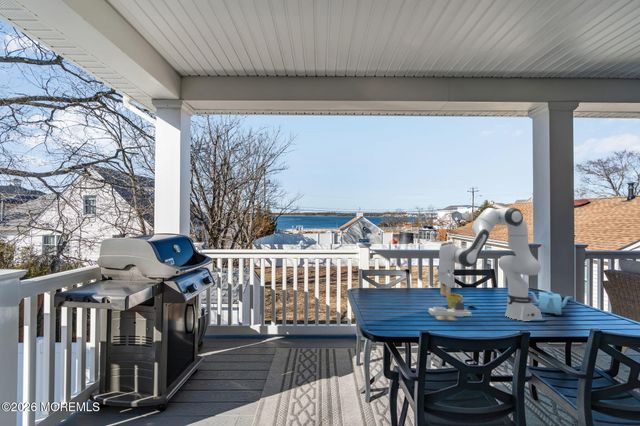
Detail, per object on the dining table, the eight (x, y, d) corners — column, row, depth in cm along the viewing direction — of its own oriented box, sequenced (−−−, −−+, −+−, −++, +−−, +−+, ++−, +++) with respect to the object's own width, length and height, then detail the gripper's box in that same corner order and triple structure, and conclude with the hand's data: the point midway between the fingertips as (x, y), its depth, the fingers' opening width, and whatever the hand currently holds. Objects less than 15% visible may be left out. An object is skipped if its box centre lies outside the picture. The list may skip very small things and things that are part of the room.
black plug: (461, 310, 218) (462, 298, 218) (464, 311, 214) (464, 300, 214) (454, 310, 218) (454, 298, 218) (456, 311, 214) (456, 299, 215)
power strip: (466, 313, 219) (467, 308, 219) (471, 316, 212) (471, 310, 212) (428, 312, 220) (428, 306, 220) (431, 315, 213) (431, 309, 213)
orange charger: (448, 294, 209) (448, 282, 209) (450, 295, 205) (450, 283, 205) (440, 293, 209) (440, 281, 209) (442, 295, 206) (442, 282, 206)
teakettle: (527, 306, 243) (527, 286, 243) (570, 312, 230) (570, 291, 231) (528, 314, 222) (528, 292, 222) (575, 321, 209) (575, 298, 209)
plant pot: (463, 312, 223) (464, 297, 223) (447, 310, 225) (447, 296, 225) (460, 308, 233) (460, 294, 233) (444, 306, 235) (445, 292, 235)
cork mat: (453, 317, 210) (453, 316, 210) (457, 320, 203) (457, 319, 203) (434, 316, 211) (434, 315, 211) (437, 319, 204) (437, 318, 204)
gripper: (457, 271, 197) (457, 295, 197) (445, 266, 217) (445, 288, 217) (446, 271, 197) (446, 294, 197) (436, 266, 218) (435, 287, 217)
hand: (445, 291), depth 207 cm, fingers closed on orange charger, 4 cm apart
